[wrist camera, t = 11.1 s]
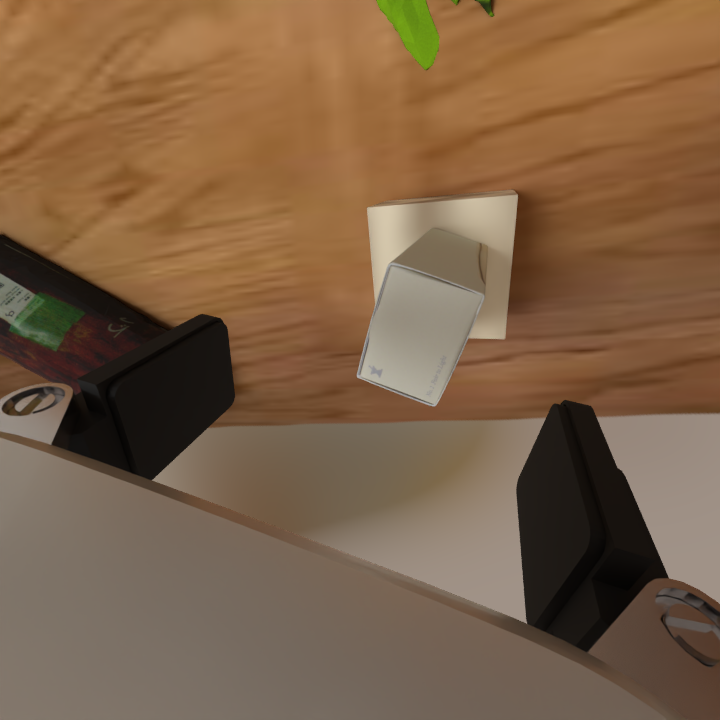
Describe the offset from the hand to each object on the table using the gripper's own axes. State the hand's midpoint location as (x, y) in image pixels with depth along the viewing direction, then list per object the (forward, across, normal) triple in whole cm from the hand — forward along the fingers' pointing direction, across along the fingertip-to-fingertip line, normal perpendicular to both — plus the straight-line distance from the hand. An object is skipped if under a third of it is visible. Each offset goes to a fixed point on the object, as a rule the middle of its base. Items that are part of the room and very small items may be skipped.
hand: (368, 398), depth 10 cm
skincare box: (+19, 0, +1) cm, 19 cm away
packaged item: (+24, +44, +16) cm, 53 cm away
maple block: (+24, 0, +1) cm, 25 cm away
